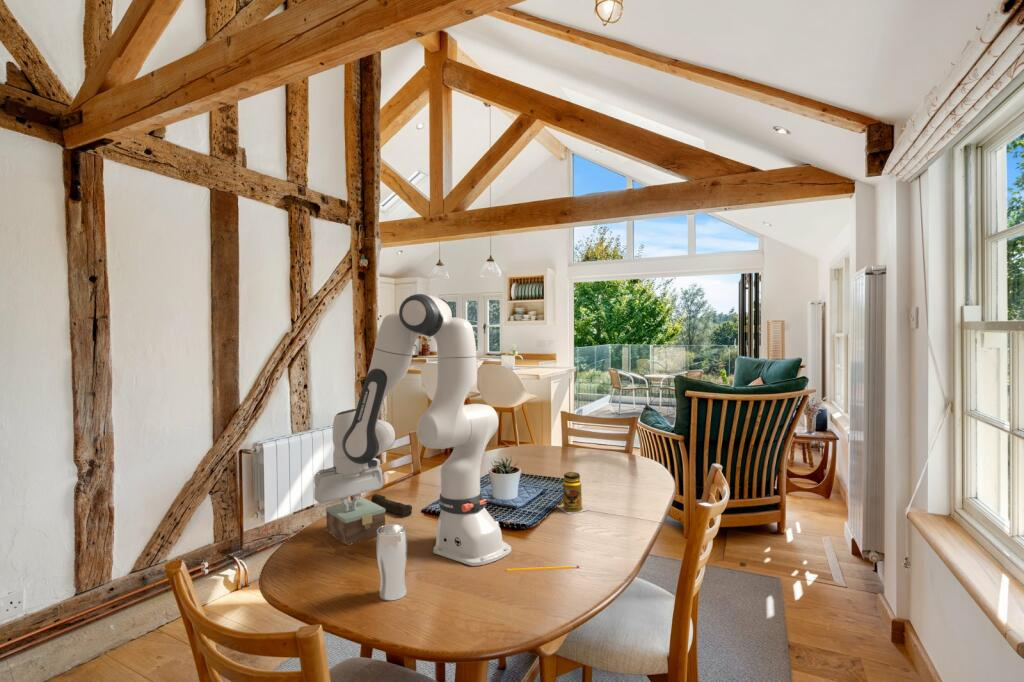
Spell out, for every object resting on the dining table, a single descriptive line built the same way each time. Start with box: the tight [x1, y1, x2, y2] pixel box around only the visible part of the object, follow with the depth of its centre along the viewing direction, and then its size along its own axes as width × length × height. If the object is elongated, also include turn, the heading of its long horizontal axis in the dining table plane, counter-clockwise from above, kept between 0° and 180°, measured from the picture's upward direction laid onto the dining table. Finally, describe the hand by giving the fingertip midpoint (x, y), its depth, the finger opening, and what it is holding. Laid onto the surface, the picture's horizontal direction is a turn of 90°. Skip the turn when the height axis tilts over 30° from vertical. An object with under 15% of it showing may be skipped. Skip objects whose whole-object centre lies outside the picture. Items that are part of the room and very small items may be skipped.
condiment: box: [556, 471, 587, 515], centre depth 168 cm, size 7×8×12 cm
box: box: [325, 510, 386, 546], centre depth 151 cm, size 15×12×6 cm
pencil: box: [506, 565, 580, 572], centre depth 126 cm, size 1×18×1 cm, turn 93°
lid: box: [325, 497, 386, 525], centre depth 151 cm, size 15×12×3 cm
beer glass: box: [375, 523, 408, 602], centre depth 115 cm, size 7×7×15 cm
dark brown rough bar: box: [370, 493, 413, 519], centre depth 170 cm, size 19×4×5 cm, turn 51°
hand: (350, 510), depth 149 cm, fingers closed
